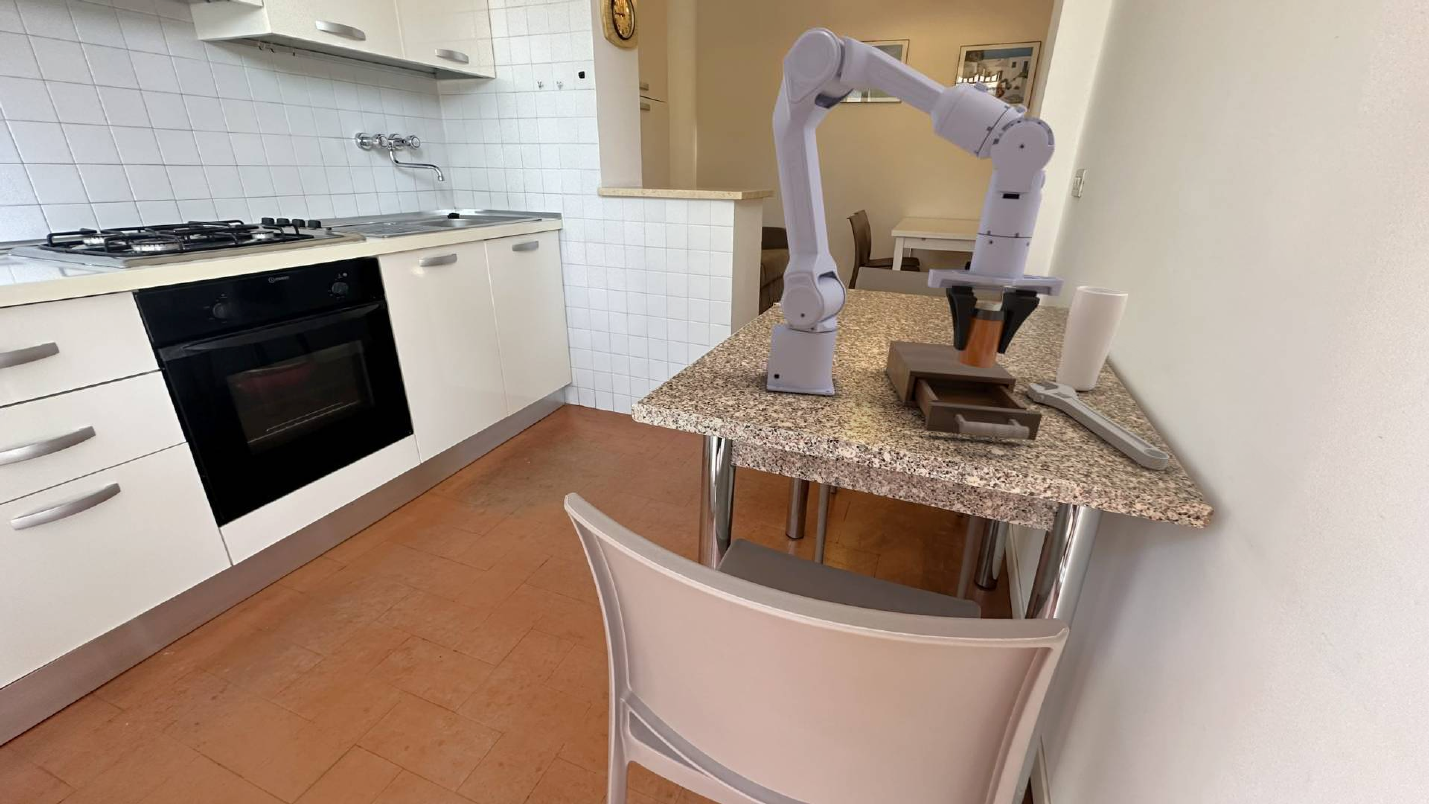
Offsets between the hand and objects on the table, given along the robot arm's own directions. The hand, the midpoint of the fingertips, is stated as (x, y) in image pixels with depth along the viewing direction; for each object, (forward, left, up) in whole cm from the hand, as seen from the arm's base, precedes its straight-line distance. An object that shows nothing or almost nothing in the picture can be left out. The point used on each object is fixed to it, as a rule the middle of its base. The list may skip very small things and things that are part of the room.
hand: (978, 350), depth 70 cm
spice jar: (0, 0, -2) cm, 2 cm away
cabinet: (0, +11, -10) cm, 15 cm away
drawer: (0, -1, -9) cm, 9 cm away
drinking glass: (+22, +19, -10) cm, 31 cm away
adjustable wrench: (+16, +3, -10) cm, 19 cm away
